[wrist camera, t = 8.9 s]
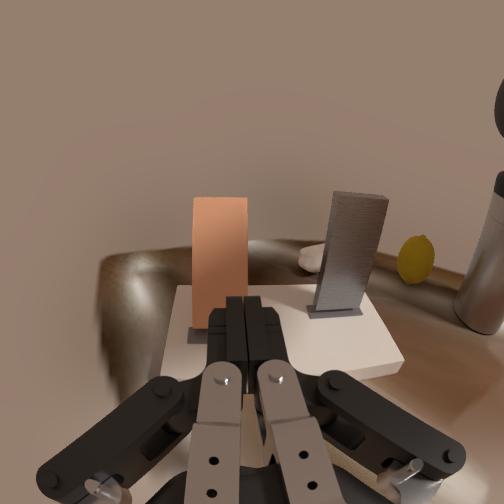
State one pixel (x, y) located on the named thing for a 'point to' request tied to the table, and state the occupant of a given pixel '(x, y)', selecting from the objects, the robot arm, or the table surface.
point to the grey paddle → (349, 249)
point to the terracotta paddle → (218, 254)
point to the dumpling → (311, 258)
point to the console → (293, 335)
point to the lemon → (415, 259)
